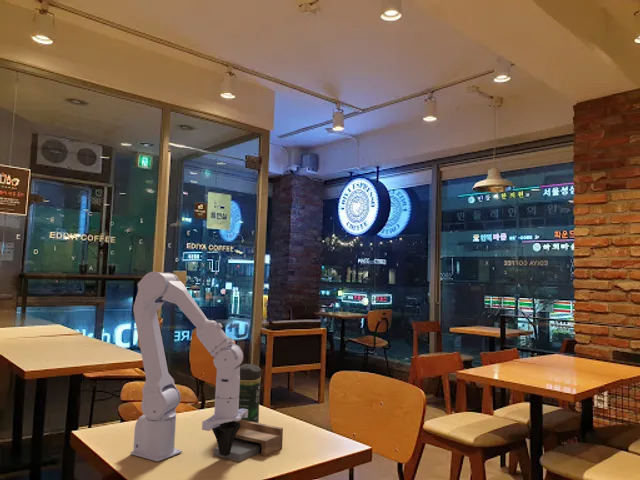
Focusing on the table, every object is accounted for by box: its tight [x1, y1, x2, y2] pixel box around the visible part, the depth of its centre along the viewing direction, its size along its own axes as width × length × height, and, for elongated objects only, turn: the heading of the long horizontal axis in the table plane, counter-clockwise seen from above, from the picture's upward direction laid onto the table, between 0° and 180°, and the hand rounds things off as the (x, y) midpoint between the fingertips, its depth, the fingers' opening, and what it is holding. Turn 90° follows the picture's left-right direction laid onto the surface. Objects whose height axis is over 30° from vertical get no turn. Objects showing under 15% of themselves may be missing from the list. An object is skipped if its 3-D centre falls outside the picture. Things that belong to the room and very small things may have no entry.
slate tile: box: [213, 440, 261, 462], centre depth 122 cm, size 8×8×2 cm
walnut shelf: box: [234, 420, 284, 457], centre depth 127 cm, size 14×8×5 cm, turn 61°
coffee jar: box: [236, 363, 262, 423], centre depth 141 cm, size 10×8×19 cm
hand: (224, 454), depth 118 cm, fingers closed
